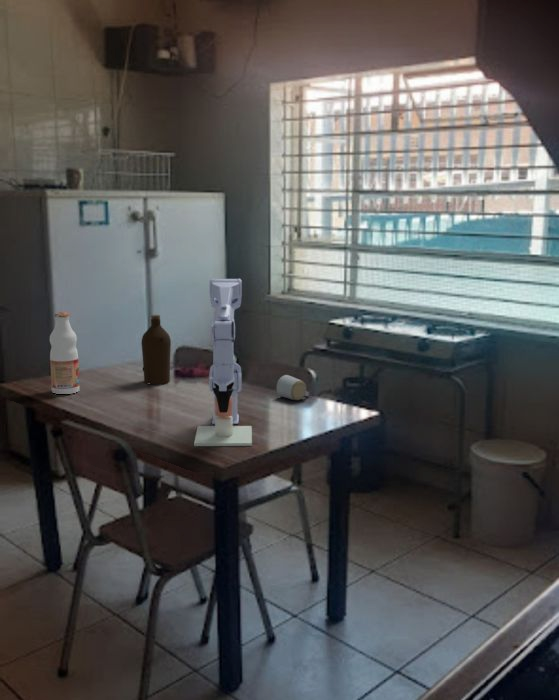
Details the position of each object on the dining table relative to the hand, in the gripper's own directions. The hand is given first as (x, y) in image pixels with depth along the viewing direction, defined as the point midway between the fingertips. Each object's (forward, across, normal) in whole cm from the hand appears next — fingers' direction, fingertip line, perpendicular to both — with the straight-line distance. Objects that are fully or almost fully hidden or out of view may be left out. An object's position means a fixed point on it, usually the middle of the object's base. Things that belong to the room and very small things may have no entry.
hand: (223, 409), depth 216 cm
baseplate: (+8, 0, 0) cm, 8 cm away
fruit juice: (+8, -51, -57) cm, 77 cm away
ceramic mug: (+8, -43, +23) cm, 50 cm away
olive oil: (+8, -66, -27) cm, 72 cm away
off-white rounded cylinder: (+7, 0, 0) cm, 7 cm away
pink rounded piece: (+1, 0, 0) cm, 1 cm away
